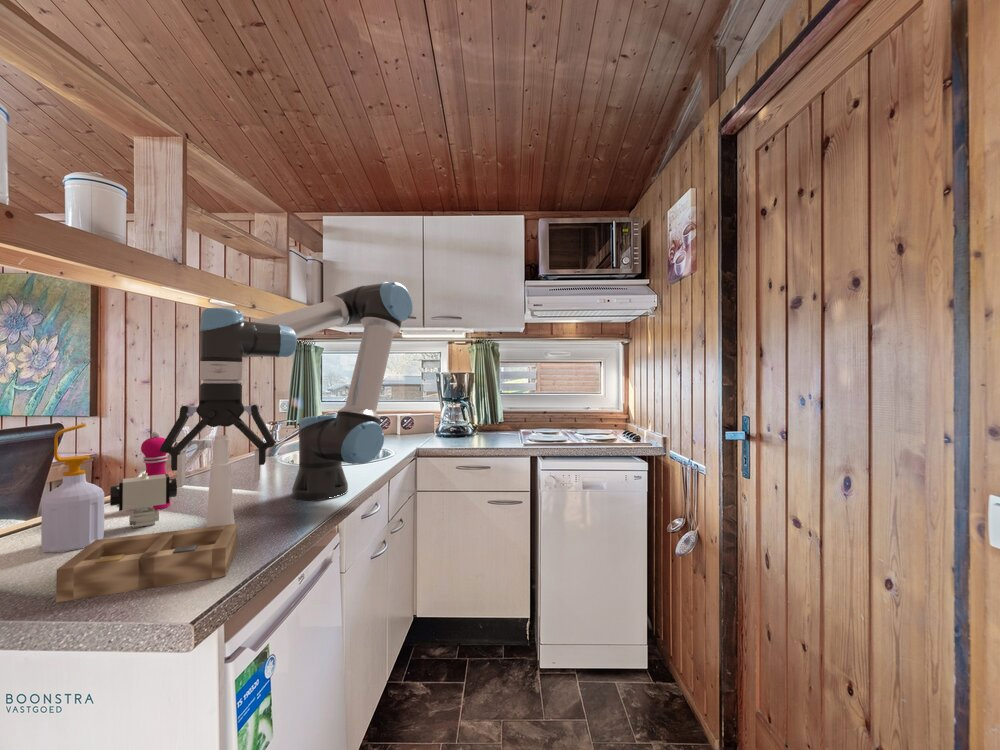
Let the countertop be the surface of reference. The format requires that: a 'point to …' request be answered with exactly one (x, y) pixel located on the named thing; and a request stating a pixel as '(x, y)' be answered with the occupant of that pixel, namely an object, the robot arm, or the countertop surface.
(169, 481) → the pneumatic valve
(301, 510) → the countertop surface
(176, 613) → the countertop surface
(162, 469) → the pepper mill
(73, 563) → the wooden compartment tray
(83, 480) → the soap bottle
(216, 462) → the cosmetic bottle
